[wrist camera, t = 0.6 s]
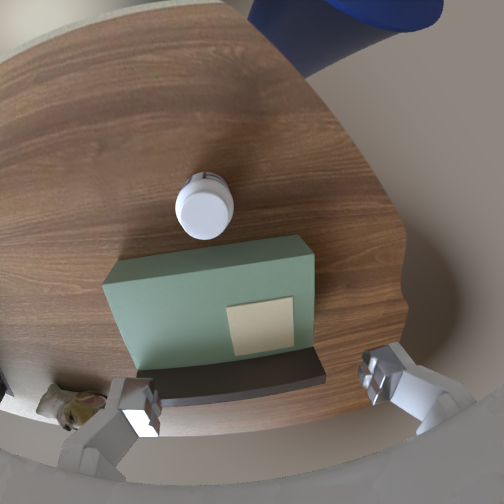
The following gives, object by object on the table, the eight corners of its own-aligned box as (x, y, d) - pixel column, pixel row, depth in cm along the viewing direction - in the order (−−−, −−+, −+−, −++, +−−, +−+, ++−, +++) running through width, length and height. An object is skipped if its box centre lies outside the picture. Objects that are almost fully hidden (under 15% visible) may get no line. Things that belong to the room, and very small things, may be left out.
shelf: (117, 260, 32) (85, 311, 22) (298, 233, 34) (333, 276, 24) (147, 348, 37) (136, 408, 27) (300, 327, 39) (325, 383, 29)
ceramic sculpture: (24, 402, 29) (107, 425, 33) (39, 367, 37) (114, 384, 41) (42, 434, 33) (115, 452, 37) (51, 401, 40) (119, 416, 44)
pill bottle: (190, 224, 32) (183, 255, 23) (175, 180, 29) (161, 197, 21) (235, 209, 32) (244, 236, 23) (222, 164, 29) (225, 175, 21)
